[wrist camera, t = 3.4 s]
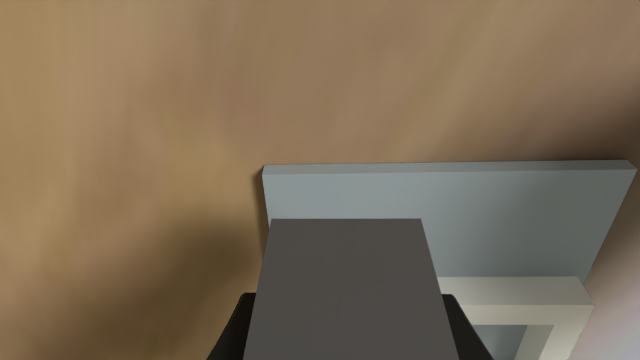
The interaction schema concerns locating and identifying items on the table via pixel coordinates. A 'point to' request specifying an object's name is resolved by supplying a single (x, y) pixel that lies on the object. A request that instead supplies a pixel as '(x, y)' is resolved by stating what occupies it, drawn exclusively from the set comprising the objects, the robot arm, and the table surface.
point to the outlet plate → (483, 234)
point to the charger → (348, 293)
